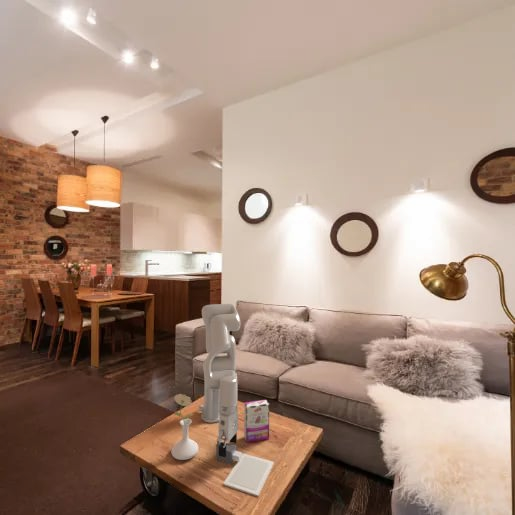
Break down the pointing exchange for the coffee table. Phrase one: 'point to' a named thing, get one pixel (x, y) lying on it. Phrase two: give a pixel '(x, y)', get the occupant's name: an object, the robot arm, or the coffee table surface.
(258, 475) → the white rectangular tray
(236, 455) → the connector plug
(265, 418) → the candy bar box
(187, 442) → the flower in vase
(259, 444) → the coffee table surface
